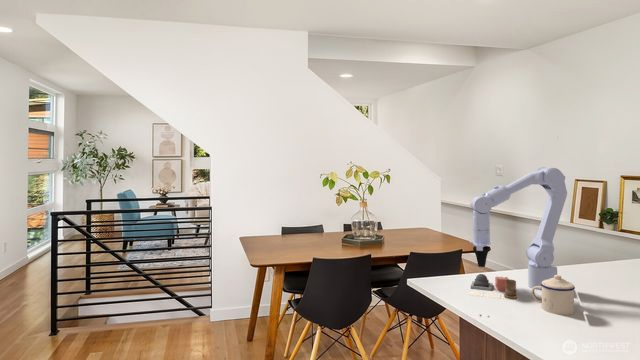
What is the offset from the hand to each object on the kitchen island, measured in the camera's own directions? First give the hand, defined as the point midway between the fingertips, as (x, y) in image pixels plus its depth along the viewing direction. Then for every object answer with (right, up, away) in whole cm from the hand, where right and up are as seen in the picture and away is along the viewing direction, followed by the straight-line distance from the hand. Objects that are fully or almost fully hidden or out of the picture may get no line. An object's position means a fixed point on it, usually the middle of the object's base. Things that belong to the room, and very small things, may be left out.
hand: (481, 266), depth 157 cm
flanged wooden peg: (+5, -8, -12) cm, 15 cm away
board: (+2, -9, -6) cm, 11 cm away
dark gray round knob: (0, -7, 0) cm, 7 cm away
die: (+6, -8, -3) cm, 10 cm away
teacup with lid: (+13, -10, -23) cm, 29 cm away
